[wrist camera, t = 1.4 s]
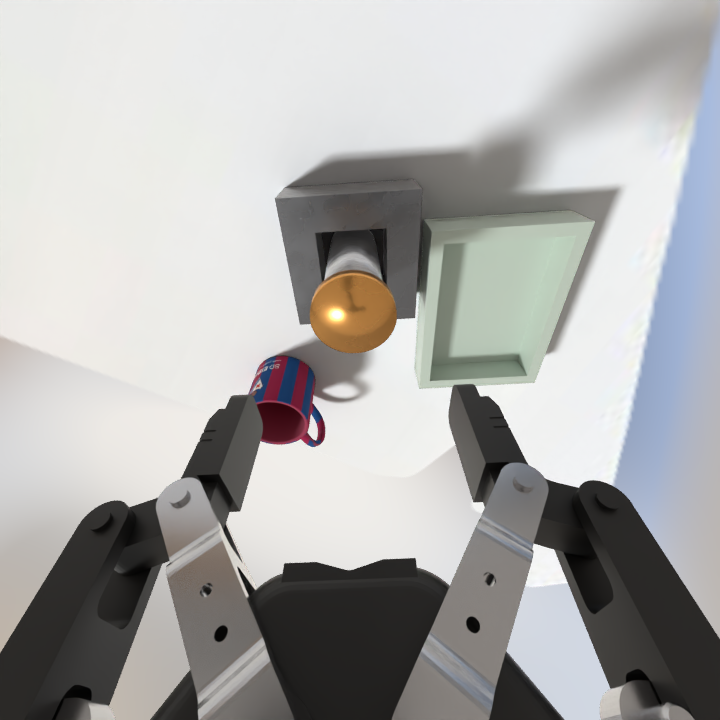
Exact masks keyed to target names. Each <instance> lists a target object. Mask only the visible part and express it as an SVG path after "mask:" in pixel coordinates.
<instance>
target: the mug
mask: <svg viewBox="0 0 720 720" xmlns="http://www.w3.org/2000/svg"><path fill="white" fill-rule="evenodd" d="M314 387H315V376H314V373H313V371H312V370H311V369H310V367H309V366H308V365H306V364H305V363H304V362H302V361H300V360H298V359H296V358H293V357H288V356H277V357H272V358H269V359H267V360H265V361H264V362H263V363H262V364H261V365H260V366H259V367H258V370H257V372H256V375H255V378H254V380H253V383H252V386H251V388H250V391H249V394H248V395H253V397H254V399H255V402H256V405H257V407H258V410H259V413H260V416H261V419H262V423H263V432H262V437H261V440H260V441H262V442H266V443H270V444H289V443H293V442H296V441H298V440H300V439H301V440H302V441H304V442H305V443H306V444H307V445H309V446H311V447H315V446H318V445H320V444H321V443H322V442H323V440H324V438H325V424H324V421H323V418H322V416H321V414H320V413H319V411H318V410H317V408H316V407H315V406H314V404H313V403H312V401H313V394H314ZM311 414H312V416H313V417H314V419H315V421H316V423H317V427H318V437H317V440H316V441H315V440H313V439H312V438H311V437H310V436H309V434H308V433H307V431H308V428H309V422H310V415H311Z"/></svg>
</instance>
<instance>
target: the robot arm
mask: <svg viewBox="0 0 720 720" xmlns="http://www.w3.org/2000/svg"><path fill="white" fill-rule="evenodd" d="M449 424H450V428H451V431H452V434H453V438H454V441H455V444H456V447H457V450H458V454H459V457H460V460H461V463H462V467H463V470H464V473H465V476H466V480H467V483H468V486H469V489H470V493H471V496H472V499H473V502H483V503H484V506H485V509H484V511H483V513H482V516H481V518H480V520H479V521H478V523H477V525H476V528H475V530H474V532H473V534H472V537H471V540H470V541H469V544H468V546H467V548H466V551H465V553H464V555H463V557H462V560H461V562H460V564H459V567H458V569H457V571H456V573H455V576H454V578H453V580H452V583H451V585H450V586H449V585H448V584H447V583H446V582H445V581H443V580H442V579H441V578H439V577H438V576H436V575H434V574H432V573H430V572H428V571H426V570H423V569H420V568H417V567H416V559H415V558H410V559H384V560H380V561H377V562H374V563H371V564H369V565H366V566H363V567H360V568H357V569H354V570H344V569H340V568H336V567H332V566H329V565H325V564H321V563H317V562H310V563H285V564H284V569H283V574H280V575H277V576H275V577H273V578H271V579H270V580H268V581H267V582H265V583H264V584H263V585H261V586H260V587H259V588H257V586H256V584H255V582H254V580H253V578H252V577H251V575H250V573H249V571H248V569H247V567H246V565H245V563H244V561H243V558H242V556H241V554H240V552H239V549H238V547H237V545H236V543H235V540H234V538H233V536H232V534H231V531H230V529H229V527H228V525H227V523H226V521H227V518H228V515H229V512H237V511H240V510H241V507H242V503H243V499H244V496H245V493H246V489H247V486H248V482H249V479H250V475H251V472H252V468H253V465H254V461H255V457H256V454H257V451H258V447H259V444H260V440H261V437H262V432H263V423H262V419H261V416H260V413H259V410H258V407H257V405H256V402H255V399H254V397H253V395H233V396H231V398H230V400H229V402H228V404H227V407H226V409H219V410H218V411H217V412H216V413H215V414H214V415H213V416H212V417H211V418H210V419H209V421H208V423H207V425H206V427H205V430H204V433H203V434H202V436H201V438H200V442H198V444H197V446H196V449H195V451H194V453H193V455H192V457H191V459H190V461H189V463H188V465H187V467H186V469H185V471H184V474H183V476H182V477H181V479H180V480H177V481H175V482H173V483H172V484H170V485H169V486H168V487H167V488H166V489H165V490H164V491H163V492H162V493H161V494H160V496H159V497H158V498H156V499H153V500H150V501H147V502H144V503H141V504H138V505H135V506H132V507H128V506H127V505H126V504H125V503H124V502H122V501H110V502H107V503H104V504H102V505H100V506H98V507H97V508H95V509H94V510H92V511H91V512H90V513H89V514H88V515H87V516H86V517H85V518H84V519H83V520H82V521H81V523H80V524H79V526H78V527H77V529H76V530H75V532H74V534H73V535H72V537H71V539H70V540H69V542H68V544H67V545H66V547H65V548H64V550H63V552H62V554H61V555H60V557H59V558H58V560H57V562H56V563H55V565H54V566H53V568H52V570H51V571H50V573H49V575H48V576H47V578H46V580H45V581H44V583H43V584H42V586H41V588H40V589H39V591H38V592H37V594H36V596H35V597H34V599H33V601H32V602H31V604H30V606H29V607H28V609H27V611H26V612H25V614H24V615H23V617H22V619H21V620H20V622H19V623H18V625H17V627H16V629H15V630H14V632H13V633H12V635H11V636H10V638H9V640H8V641H7V643H6V645H5V646H4V648H3V649H2V651H1V653H0V720H115V715H114V712H113V710H112V709H111V708H110V707H109V704H110V702H111V699H112V696H113V694H114V691H115V688H116V686H117V683H118V680H119V678H120V675H121V672H122V669H123V667H124V664H125V662H126V659H127V656H128V654H129V651H130V648H131V646H132V643H133V640H134V638H135V635H136V632H137V629H138V627H139V624H140V622H141V619H142V616H143V613H144V611H145V608H146V606H147V603H148V600H149V598H150V595H151V592H152V590H153V587H154V584H155V581H156V579H157V576H158V573H159V571H160V568H161V565H162V563H165V562H168V561H170V564H168V565H167V566H166V575H167V579H168V583H169V587H170V591H171V595H172V599H173V603H174V607H175V611H176V615H177V618H178V622H179V626H180V630H181V634H182V638H183V642H184V646H185V650H186V654H187V658H188V662H189V665H190V671H189V672H188V673H187V674H186V676H185V677H184V678H183V679H182V681H181V682H180V683H179V684H178V686H177V687H176V688H175V689H174V691H173V692H172V693H171V695H170V696H169V697H168V698H167V699H166V701H165V702H164V703H163V705H162V706H161V707H160V708H159V709H158V711H157V712H156V713H155V714H154V716H153V717H152V718H151V719H150V720H564V719H563V718H562V716H561V715H560V714H559V713H558V712H557V711H556V709H555V708H554V707H553V706H552V705H551V703H550V702H549V701H548V700H547V699H546V698H545V696H544V695H543V694H542V693H541V692H540V690H539V689H538V688H537V687H536V686H535V685H534V683H533V682H532V681H531V680H530V679H529V677H528V676H527V675H526V674H525V673H524V672H523V670H521V668H520V667H519V666H518V664H517V663H516V662H515V661H514V660H513V659H512V657H511V656H510V655H509V654H508V653H507V652H506V649H507V646H508V642H509V639H510V635H511V632H512V629H513V625H514V621H515V618H516V615H517V611H518V607H519V604H520V601H521V597H522V594H523V590H524V587H525V583H526V580H527V576H528V573H529V569H530V566H531V562H532V558H533V550H532V547H533V543H534V544H538V545H541V546H544V547H548V548H551V549H554V550H555V552H556V555H557V557H558V560H559V562H560V565H561V567H562V569H563V572H564V574H565V577H566V579H567V582H568V584H569V587H570V589H571V592H572V594H573V596H574V599H575V602H576V604H577V607H578V609H579V612H580V614H581V616H582V619H583V622H584V624H585V626H586V629H587V631H588V634H589V636H590V639H591V641H592V644H593V646H594V649H595V651H596V654H597V656H598V659H599V661H600V663H601V666H602V669H603V671H604V673H605V676H606V678H607V681H608V683H609V686H610V688H611V689H610V690H608V691H607V692H605V694H604V695H603V696H602V699H601V702H600V717H601V720H720V639H719V637H718V636H717V634H716V633H715V631H714V630H713V628H712V626H711V625H710V623H709V622H708V620H707V619H706V617H705V616H704V614H703V613H702V611H701V610H700V608H699V606H698V605H697V604H696V602H695V600H694V599H693V597H692V596H691V594H690V593H689V591H688V589H687V588H686V586H685V585H684V584H683V582H682V580H681V579H680V577H679V576H678V574H677V573H676V571H675V569H674V568H673V566H672V565H671V564H670V562H669V560H668V559H667V557H666V556H665V554H664V553H663V551H662V549H661V548H660V546H659V545H658V543H657V542H656V540H655V539H654V537H653V536H652V534H651V533H650V531H649V529H648V528H647V527H646V525H645V523H644V522H643V520H642V519H641V517H640V516H639V514H638V512H637V511H636V509H635V508H634V506H633V505H632V503H631V502H630V500H629V499H628V498H627V497H626V496H625V495H624V494H623V493H622V492H621V491H619V490H618V489H617V488H615V487H613V486H612V485H609V484H607V483H604V482H601V481H594V480H593V481H586V482H584V483H583V484H582V485H581V486H580V487H579V488H577V487H573V486H568V485H564V484H560V483H556V482H553V481H550V480H547V479H545V478H544V477H543V475H542V474H541V473H540V472H539V471H537V470H536V469H535V468H533V467H531V466H529V465H528V463H527V462H526V460H525V458H524V456H523V454H522V452H521V450H520V448H519V446H518V444H517V442H516V440H515V438H514V436H513V434H512V432H511V430H510V428H509V427H508V424H507V422H506V420H505V419H504V416H503V414H502V412H501V410H500V408H499V406H498V405H497V404H496V403H495V402H494V401H493V400H492V399H491V398H490V397H489V396H484V397H480V395H479V393H478V391H477V389H476V387H475V385H474V384H459V385H454V386H453V389H452V395H451V401H450V407H449Z"/></svg>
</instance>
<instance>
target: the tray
mask: <svg viewBox="0 0 720 720" xmlns="http://www.w3.org/2000/svg"><path fill="white" fill-rule="evenodd" d="M594 223H595V221H593V220H591V219H589V218H587V217H585V216H583V215H580V214H578V213H576V212H574V211H572V210H564V211H548V212H532V213H516V214H500V215H484V216H469V217H453V218H437V219H424V227H423V242H422V258H421V274H420V289H419V305H418V321H417V336H416V352H415V372H416V377H417V381H418V385H419V389H423V388H442V387H453V386H454V385H459V384H474V385H475V386H481V385H500V384H520V383H535V380H536V377H537V375H538V372H539V369H540V367H541V364H542V361H543V359H544V356H545V353H546V351H547V348H548V346H549V343H550V340H551V338H552V335H553V332H554V330H555V327H556V324H557V322H558V319H559V316H560V314H561V311H562V308H563V306H564V303H565V300H566V298H567V295H568V292H569V290H570V287H571V284H572V282H573V279H574V277H575V274H576V271H577V269H578V266H579V263H580V261H581V258H582V255H583V253H584V250H585V247H586V245H587V242H588V239H589V237H590V234H591V231H592V229H593V226H594Z"/></svg>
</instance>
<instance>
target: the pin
mask: <svg viewBox="0 0 720 720" xmlns="http://www.w3.org/2000/svg"><path fill="white" fill-rule="evenodd" d="M396 320H397V310H396V306H395V301H394V297H393V294H392V292H391V290H390V288H389V287H388V286H387V284H386V283H385V282H384V281H383V280H382V275H381V269H380V264H379V258H378V252H377V246H376V241H375V238H374V236H373V234H372V233H371V232H370V231H369V230H352V231H336V232H335V234H334V235H333V237H332V240H331V244H330V250H329V256H328V262H327V267H326V273H325V279H324V281H323V282H322V283H321V284H320V285H319V286H318V288H317V289H316V291H315V293H314V296H313V299H312V303H311V308H310V322H311V326H312V328H313V331H314V332H315V334H316V335H317V337H318V338H319V339H320V340H321V341H322V342H323V343H324V344H326V345H327V346H329V347H330V348H333V349H335V350H337V351H341V352H345V353H362V352H366V351H369V350H372V349H374V348H376V347H378V346H380V345H381V344H382V343H384V342H385V341H386V340H387V339H388V338H389V336H390V335H391V333H392V332H393V330H394V327H395V325H396Z"/></svg>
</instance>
